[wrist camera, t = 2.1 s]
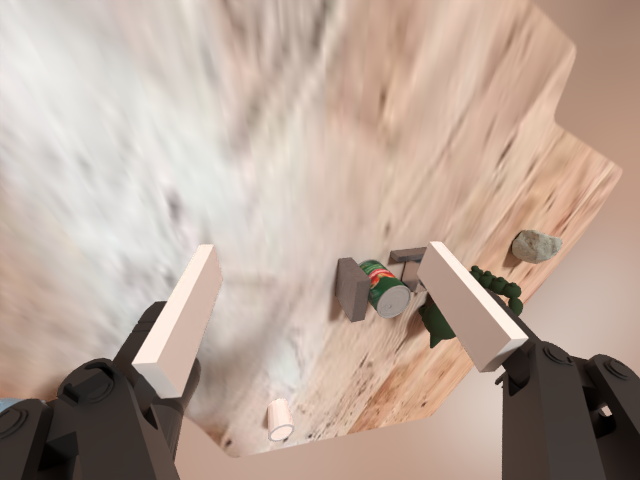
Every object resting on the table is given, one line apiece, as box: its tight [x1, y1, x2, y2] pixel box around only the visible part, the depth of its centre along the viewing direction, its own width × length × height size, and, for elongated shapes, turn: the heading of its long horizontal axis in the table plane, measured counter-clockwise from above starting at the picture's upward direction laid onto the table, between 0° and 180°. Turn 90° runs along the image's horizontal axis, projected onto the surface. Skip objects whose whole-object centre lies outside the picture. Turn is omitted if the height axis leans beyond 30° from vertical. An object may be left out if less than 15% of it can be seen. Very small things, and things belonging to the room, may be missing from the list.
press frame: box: [335, 247, 427, 322], centre depth 52 cm, size 11×26×9 cm, turn 86°
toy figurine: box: [419, 266, 523, 348], centre depth 58 cm, size 9×19×25 cm
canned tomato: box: [359, 259, 411, 318], centre depth 50 cm, size 8×8×11 cm
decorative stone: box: [512, 230, 562, 264], centre depth 67 cm, size 13×11×10 cm
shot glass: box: [268, 399, 295, 441], centre depth 61 cm, size 7×7×7 cm
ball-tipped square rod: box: [402, 259, 427, 293], centre depth 50 cm, size 7×5×20 cm
